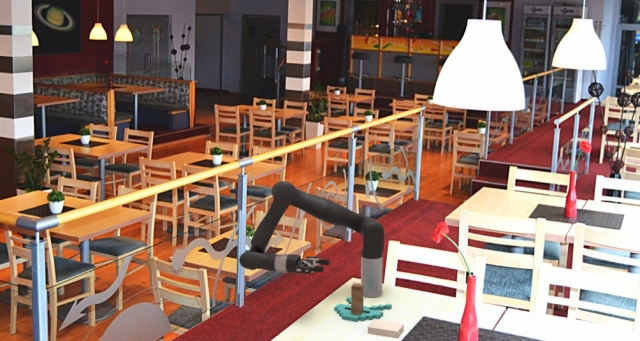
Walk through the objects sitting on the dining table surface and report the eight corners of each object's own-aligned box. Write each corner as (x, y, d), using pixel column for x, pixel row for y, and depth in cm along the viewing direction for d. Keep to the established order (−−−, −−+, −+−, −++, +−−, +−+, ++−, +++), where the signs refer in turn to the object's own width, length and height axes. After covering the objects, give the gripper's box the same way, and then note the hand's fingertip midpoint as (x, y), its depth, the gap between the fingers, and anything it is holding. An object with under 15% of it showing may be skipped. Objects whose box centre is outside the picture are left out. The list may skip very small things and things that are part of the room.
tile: (374, 319, 323) (403, 323, 319) (374, 326, 324) (403, 331, 320) (367, 326, 316) (397, 331, 312) (367, 334, 317) (397, 338, 312)
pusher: (353, 310, 335) (353, 282, 332) (363, 311, 334) (363, 283, 331) (351, 314, 331) (351, 286, 329) (360, 315, 330) (361, 287, 327)
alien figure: (348, 301, 351) (326, 317, 334) (348, 296, 350) (326, 312, 333) (391, 309, 342) (371, 326, 325) (391, 304, 341) (372, 321, 324)
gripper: (281, 260, 326) (320, 262, 322) (293, 249, 340) (330, 251, 335) (282, 278, 328) (321, 280, 323) (293, 266, 341) (331, 268, 337)
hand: (326, 265), depth 329 cm, fingers open, 8 cm apart
